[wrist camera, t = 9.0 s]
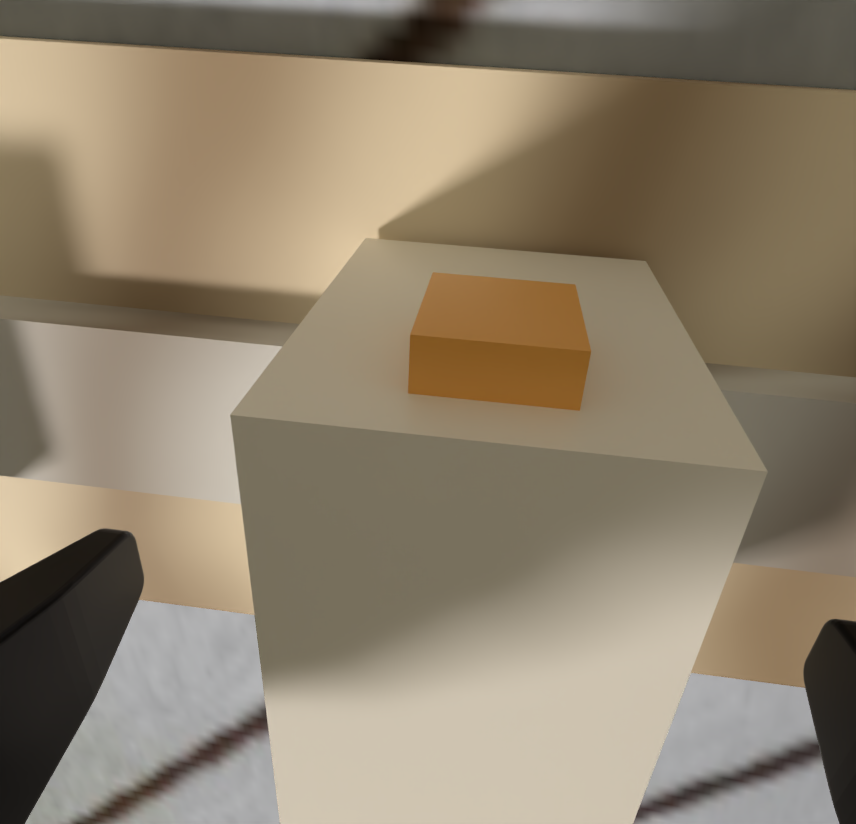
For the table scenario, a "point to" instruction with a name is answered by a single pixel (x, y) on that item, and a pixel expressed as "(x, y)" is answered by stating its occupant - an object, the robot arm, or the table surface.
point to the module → (483, 536)
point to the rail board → (415, 222)
